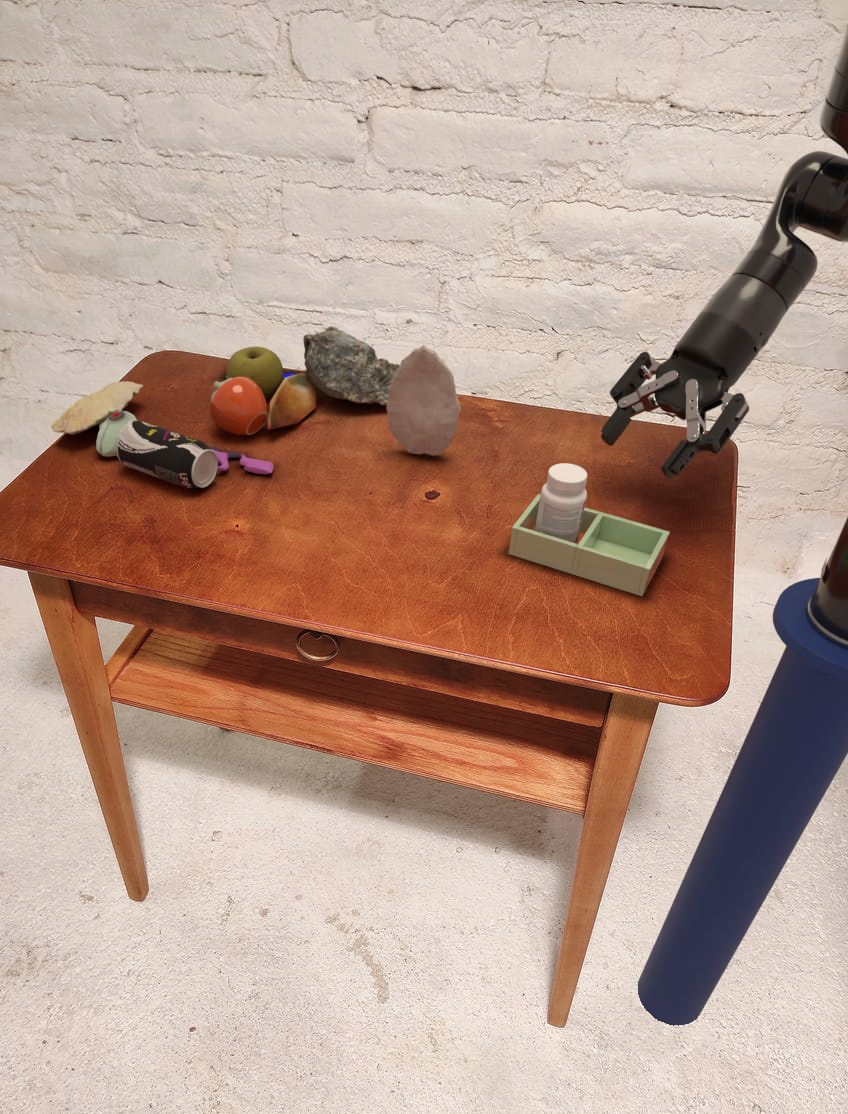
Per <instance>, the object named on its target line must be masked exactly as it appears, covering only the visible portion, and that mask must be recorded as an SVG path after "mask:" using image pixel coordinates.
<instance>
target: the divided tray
mask: <svg viewBox="0 0 848 1114" xmlns="http://www.w3.org/2000/svg"><path fill="white" fill-rule="evenodd" d="M540 495H541V493H538V494H536V496H535V498H533V500H532V501H531V502H530V504H529V505H528V506H527V507H526V509H525V510H524V512H523V513H522V514H521V515H520V516H519V518H518V520H517V521H516V522H515V523H514V524H513V526H512V527H511V532H510V533H511V534H510V540H509V545H508V546H509V547H508V551H507V554H508V555H511V556H514V557H516V558H520V559H523V560H526V561H528V562H533V563H534V564H539V565H542V566H545V567H548V568H551V569H555V570H558V571H560V572H563V573H566V574H570V575H574V576H577V577H579V578H582V579H586V580H589V581H592V582H594V583H599V584H602V585H604V586H608V587H610V588H614V589H617V590H621V591H623V592H627V593H629V594H633V595H636V596H640V597H644V594H645V592H646V591H647V589H648V587H649V585H650V583H651V581H652V579H653V578H654V576H655V574H656V571H657V569H658V567H659V565H660V564H661V562H662V560H663V557H664V554H665V551H666V548H667V544H668V541H669V536H670V533H671V532H670V531H668V530H664V529H662V528H659V527H655V526H651V525H648V524H645V523H641V522H637V521H633V520H631V519H628V518H627V519H626V518H624V517H621V516H617V515H613V514H610V513H606V512H602V511H599V510H597V509H593V508H589V507H586V506H585V508H584V513H583V517H582V522H581V527H580V531H579V537H578V541H577V544H576V543H573V542H569V541H566V540H563V539H560V538H556V537H553V536H550V535H546V534H543V533H540V532H537V531H535V525H536V519H537V514H538V507H539V501H540Z"/></svg>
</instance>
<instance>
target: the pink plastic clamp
mask: <svg viewBox="0 0 848 1114" xmlns="http://www.w3.org/2000/svg"><path fill="white" fill-rule="evenodd" d="M208 447H209V448H210V450H212V451H214V452H215V454H216V456H217V459H218V464H220V465H218V469H217V472H226V471H227V470H228V469H229V467H230V463H229V459H239V465H240V466H241V467H243V469H244V470H245V471H246V472H249V473H253V474H259V475H269V474H272V472H273V470H274V465H275V464H274V463H273V462H271V461H267V460H262V459H258V458H257V459H256V458H250V457H246V455H245V454H243V453H239V452H234V451H233V452H224V451H222V450H221V449H220V448H217V447H215V446H214V447H213V446H210V445H208Z"/></svg>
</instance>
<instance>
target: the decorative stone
mask: <svg viewBox="0 0 848 1114" xmlns="http://www.w3.org/2000/svg"><path fill="white" fill-rule="evenodd" d="M267 407H268V409H267V414H268V418H267V430H268V431H269V430H274V429H280V428H283V427H284V428H285V427H288V426H289V427H290V426H294V425H296V424H298V423H300V422H301V421H302V420H303V419H304V418H306V416H308V415H309V414H310V413H311V412H312V411H314V410H315V409H316V408H317V386H315V385H314V384H313V383H312V382H311V381H310V380H308V379H307V377H306V370H304V371H301V372H299V373H298V374H295V375H292V376H289V377H286V378H284V380H283V381H282V383H281V384H280V386H279V387H278V389H277V391H276V392H275V394H274V396H273V397H272V399H271V400H270V402H269V404H267Z"/></svg>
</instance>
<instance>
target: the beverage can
mask: <svg viewBox="0 0 848 1114" xmlns="http://www.w3.org/2000/svg"><path fill="white" fill-rule="evenodd" d="M208 446H209V445H208V444H206V443H205V442H203V441H201V440H198V439H196V438H193V437H190V436H187V435H184V434H182V433H178V432H175V431H172V430H170V429H167V428H163V427H160V426H157V425H155V424H151V423H149V422H145V421H142V420H139V419H137V420H134V421H131V422H129V423H127V424H126V425H125V426H124V427H123V428H122V430H121V431H120V433H119V436H118V439H117V444H116V451H117V456H116V457H117V459H118V460H119V462H120V463H121V464H122V465H123V466H125V467H126V468H127V467H128V468H130V469H133V470H136V471H138V472H140V473H144V474H147V475H149V476H152V477H155V478H156V479H157V478H158V479H160V480H163V481H166V482H168V483H171V484H174V485H177V486H179V487H183V488H185V489H188V490H195V489H198V488H201V489H203V488H206V487H209V485H211V484H212V482H213V481H214V479H215V477H216V475H217V472H218V471H217V469H218V467H219V462H218V459H217V456H216V454H215V452H214V451H212V450H210V448H209V447H208Z"/></svg>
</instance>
